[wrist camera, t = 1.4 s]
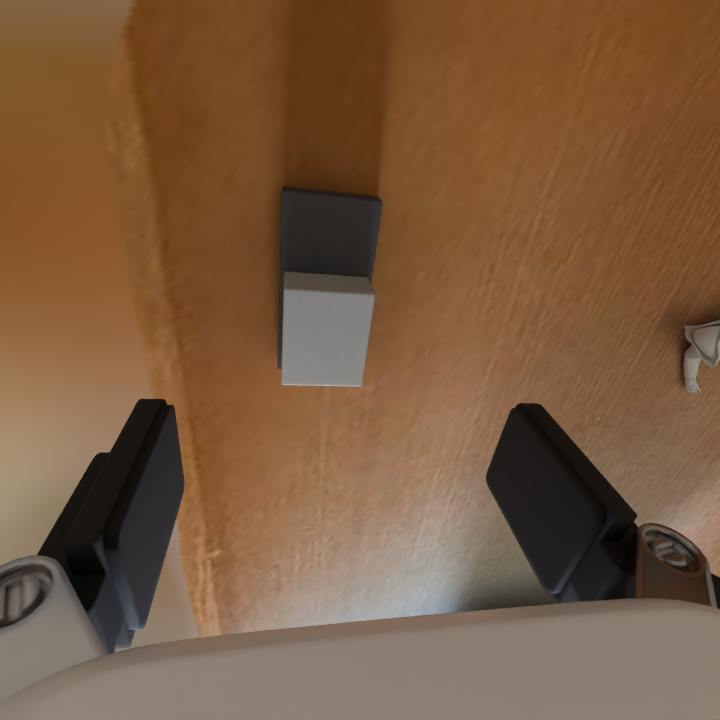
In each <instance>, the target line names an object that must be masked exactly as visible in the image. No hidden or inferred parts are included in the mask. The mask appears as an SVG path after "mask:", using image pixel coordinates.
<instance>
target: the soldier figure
mask: <svg viewBox="0 0 720 720" xmlns="http://www.w3.org/2000/svg"><path fill="white" fill-rule="evenodd" d="M684 327H685V337H686V339H687V340H688V341H689V342H690V343H692V344H691V346H690V347H689V348H688V349H687V350H686V352H685V355H684V376H685V377H686V378H685V385H686V389H687V391H688V392H692V393H698V392H697V391H696V389H697V390H698V391H701V390H700V389H699V387H698V384H697V381H696V376H697V374H698V369H699V364H700V362H701V359H702V360H703V361H704V362H705V363H706V364H708V365H709V366H710V368H712V369H714V368H715V367H716V365H717V363H718V361H720V320H718V321H715V322H712V323H708V324H705V325H700V326H684ZM693 391H694V392H693Z"/></svg>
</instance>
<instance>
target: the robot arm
mask: <svg viewBox="0 0 720 720" xmlns="http://www.w3.org/2000/svg"><path fill="white" fill-rule="evenodd" d="M486 481H487V485H488V487H489V489H490V491H491V492H492V494H493V496H494V498H495V500H496V502H497V504H498V506H499V507H500V509H501V511H502V513H503V515H504V517H505V519H506V520H507V522H508V524H509V526H510V528H511V530H512V532H513V534H514V535H515V537H516V539H517V541H518V543H519V545H520V547H521V548H522V550H523V552H524V554H525V556H526V558H527V560H528V562H529V563H530V565H531V567H532V569H533V571H534V573H535V575H536V576H537V578H538V580H539V582H540V584H541V586H542V587H543V589H544V590H545V591H546V592H547V593H548V594H551V596H552V598H553V600H554V602H555V604H547V605H536V606H524V607H512V608H501V609H489V610H478V611H467V612H456V613H445V614H434V615H423V616H412V617H402V618H391V619H380V620H369V621H359V622H348V623H338V624H328V625H318V626H307V627H297V628H287V629H277V630H266V631H256V632H247V633H239V634H230V635H221V636H213V637H204V638H195V639H187V640H179V641H172V642H167V643H160V644H154V645H147V646H141V647H136V648H132V649H128V650H123V651H120V652H115V653H114V651H115V648H124V647H130V646H131V643H132V639H133V636H134V633H135V630H138V629H143V628H144V626H145V624H146V621H147V618H148V615H149V611H150V608H151V604H152V601H153V597H154V594H155V590H156V587H157V583H158V580H159V576H160V573H161V569H162V566H163V562H164V559H165V556H166V552H167V549H168V545H169V541H170V538H171V534H172V531H173V528H174V524H175V521H176V517H177V514H178V510H179V507H180V503H181V500H182V496H183V492H184V474H183V467H182V460H181V452H180V445H179V437H178V430H177V422H176V415H175V408H174V406H173V405H167V403H166V400H164V399H140V400H139V401H138V402H137V404H136V405H135V407H134V409H133V411H132V413H131V415H130V416H129V418H128V420H127V422H126V424H125V426H124V427H123V429H122V431H121V433H120V435H119V437H118V439H117V441H116V442H115V444H114V446H113V448H112V450H111V451H110V453H99V454H97V455H96V456H95V457H94V458H93V460H92V461H91V463H90V465H89V467H88V468H87V470H86V472H85V473H84V475H83V477H82V479H81V480H80V482H79V484H78V486H77V487H76V489H75V491H74V493H73V494H72V496H71V498H70V499H69V501H68V503H67V504H66V506H65V508H64V510H63V511H62V513H61V515H60V516H59V518H58V520H57V521H56V523H55V525H54V527H53V528H52V530H51V532H50V533H49V535H48V537H47V539H46V540H45V542H44V544H43V546H42V547H41V549H40V551H39V552H38V554H37V556H28V557H23V558H18V559H16V560H13V561H11V562H8V563H6V564H3V565H1V566H0V720H720V578H719V577H717V576H715V575H714V574H712V573H711V571H710V567H709V564H708V561H707V559H706V557H705V556H704V555H703V553H702V552H701V551H700V549H699V548H698V547H697V546H696V545H695V544H693V543H692V542H691V541H690V540H689V539H687V538H686V537H685V536H683V535H682V534H680V533H679V532H677V531H675V530H673V529H671V528H669V527H666V526H663V525H660V524H655V523H646V524H643V525H641V526H640V527H639V528H638V526H637V525H636V524H635V523H634V520H635V519H636V517H637V516H638V515H637V514H636V513H635V512H634V511H633V510H632V508H631V507H630V506H629V505H628V504H627V503H626V502H625V500H624V499H623V498H622V497H621V496H620V495H619V494H618V492H617V491H616V490H615V489H614V488H613V487H612V486H611V484H610V483H609V482H608V481H607V480H606V479H605V478H604V476H603V475H602V474H601V473H600V472H599V471H598V470H597V468H596V467H595V466H594V465H593V464H592V463H591V462H590V460H589V459H588V458H587V457H586V456H585V455H584V454H583V452H582V451H581V450H580V449H579V448H578V447H577V445H576V444H575V443H574V442H573V441H572V440H571V439H570V437H569V436H568V435H567V434H566V433H565V432H564V431H563V429H562V428H561V427H560V426H559V425H558V424H557V423H556V421H555V420H554V419H553V418H552V417H551V416H550V415H549V413H548V412H547V411H546V410H545V409H544V408H543V407H542V406H541V405H540V404H537V403H520V404H518V405H517V406H516V407H515V408H513V409H512V410H511V411H510V413H509V416H508V418H507V421H506V424H505V426H504V429H503V432H502V434H501V437H500V439H499V442H498V445H497V447H496V450H495V453H494V455H493V458H492V460H491V463H490V466H489V468H488V471H487V474H486Z"/></svg>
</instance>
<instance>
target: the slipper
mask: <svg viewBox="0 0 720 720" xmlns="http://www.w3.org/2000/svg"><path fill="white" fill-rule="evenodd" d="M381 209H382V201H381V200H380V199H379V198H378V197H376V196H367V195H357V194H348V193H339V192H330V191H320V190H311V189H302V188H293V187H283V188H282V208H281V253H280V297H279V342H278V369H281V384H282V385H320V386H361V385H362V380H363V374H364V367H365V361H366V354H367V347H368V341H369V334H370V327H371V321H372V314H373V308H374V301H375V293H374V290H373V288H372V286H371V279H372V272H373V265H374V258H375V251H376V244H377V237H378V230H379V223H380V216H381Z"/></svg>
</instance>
